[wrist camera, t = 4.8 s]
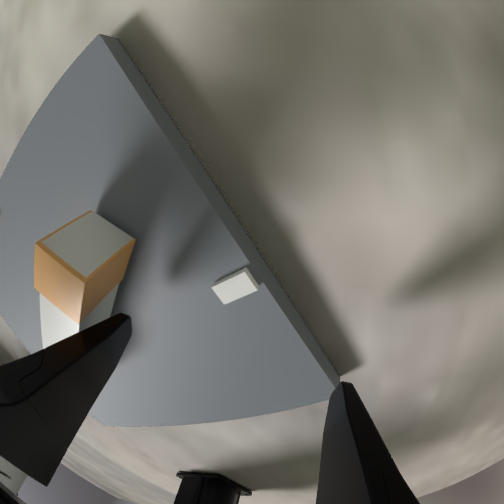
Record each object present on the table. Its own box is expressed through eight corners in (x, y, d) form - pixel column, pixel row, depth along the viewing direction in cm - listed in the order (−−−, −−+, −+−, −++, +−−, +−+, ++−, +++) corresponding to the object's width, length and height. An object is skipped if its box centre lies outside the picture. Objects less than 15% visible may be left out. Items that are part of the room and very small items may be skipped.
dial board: (339, 377, 13) (340, 401, 12) (108, 416, 21) (101, 428, 19) (117, 38, 8) (94, 32, 6) (-20, 259, 15) (-32, 267, 14)
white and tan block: (108, 382, 15) (85, 417, 12) (62, 349, 14) (36, 380, 12) (151, 249, 10) (103, 297, 7) (78, 201, 9) (22, 231, 7)
